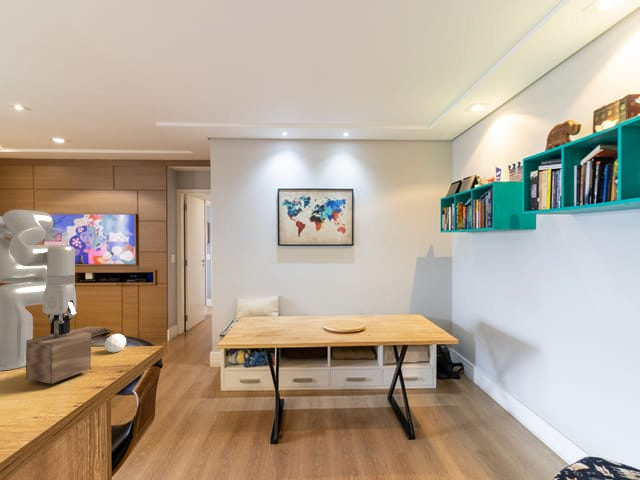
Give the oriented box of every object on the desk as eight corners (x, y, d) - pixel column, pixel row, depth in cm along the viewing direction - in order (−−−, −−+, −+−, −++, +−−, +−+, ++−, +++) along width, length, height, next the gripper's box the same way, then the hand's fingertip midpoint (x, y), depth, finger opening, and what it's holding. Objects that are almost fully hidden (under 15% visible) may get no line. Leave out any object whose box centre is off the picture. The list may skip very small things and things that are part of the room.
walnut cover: (25, 378, 102) (26, 323, 102) (65, 364, 113) (66, 315, 114) (52, 383, 98) (52, 326, 98) (90, 368, 110) (91, 317, 110)
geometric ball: (110, 358, 132) (103, 342, 134) (130, 348, 137) (123, 332, 139) (107, 354, 126) (99, 337, 128) (128, 344, 131) (121, 328, 133)
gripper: (31, 281, 105) (31, 334, 105) (66, 282, 100) (65, 338, 100) (56, 279, 112) (55, 329, 112) (89, 280, 108) (88, 332, 107)
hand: (60, 333), depth 106 cm, fingers closed on walnut cover, 3 cm apart
